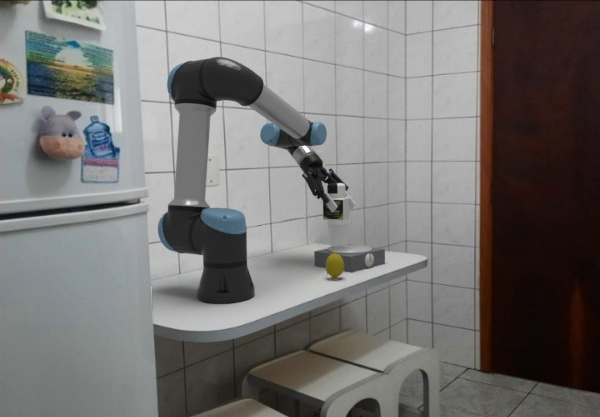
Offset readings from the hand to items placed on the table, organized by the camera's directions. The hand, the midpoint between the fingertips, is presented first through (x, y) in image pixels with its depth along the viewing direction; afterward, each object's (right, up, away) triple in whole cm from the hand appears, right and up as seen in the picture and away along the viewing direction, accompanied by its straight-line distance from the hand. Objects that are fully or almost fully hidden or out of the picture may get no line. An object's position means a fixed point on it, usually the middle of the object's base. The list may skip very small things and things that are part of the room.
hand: (344, 208), depth 177 cm
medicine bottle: (-2, -4, +3) cm, 5 cm away
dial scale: (+2, -19, +5) cm, 20 cm away
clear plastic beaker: (+1, -17, +33) cm, 37 cm away
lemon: (-4, -22, -16) cm, 27 cm away
